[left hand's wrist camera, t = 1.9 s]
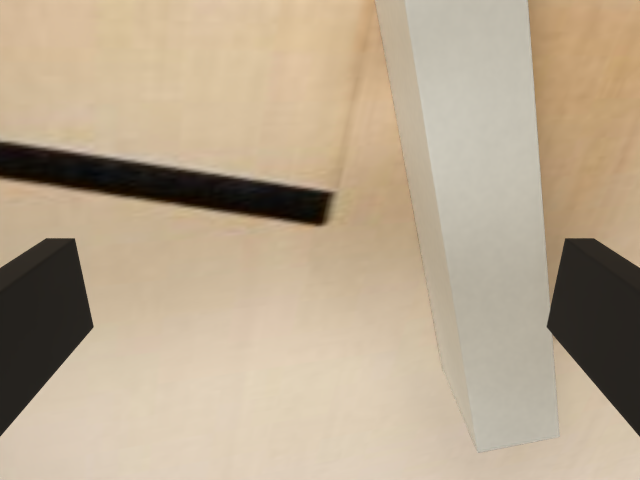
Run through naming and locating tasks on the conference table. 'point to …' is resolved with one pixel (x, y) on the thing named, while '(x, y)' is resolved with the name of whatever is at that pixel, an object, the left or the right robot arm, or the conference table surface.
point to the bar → (477, 205)
